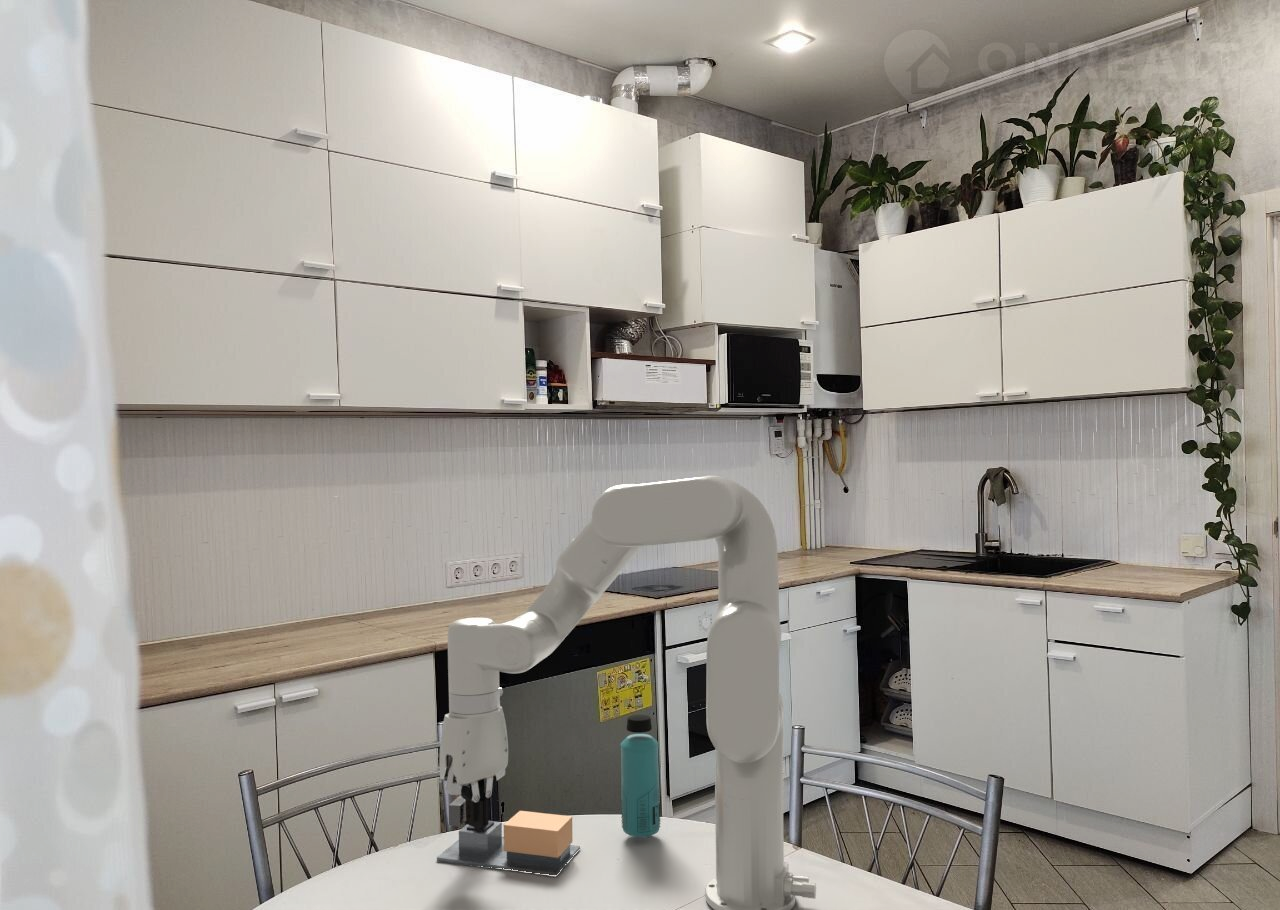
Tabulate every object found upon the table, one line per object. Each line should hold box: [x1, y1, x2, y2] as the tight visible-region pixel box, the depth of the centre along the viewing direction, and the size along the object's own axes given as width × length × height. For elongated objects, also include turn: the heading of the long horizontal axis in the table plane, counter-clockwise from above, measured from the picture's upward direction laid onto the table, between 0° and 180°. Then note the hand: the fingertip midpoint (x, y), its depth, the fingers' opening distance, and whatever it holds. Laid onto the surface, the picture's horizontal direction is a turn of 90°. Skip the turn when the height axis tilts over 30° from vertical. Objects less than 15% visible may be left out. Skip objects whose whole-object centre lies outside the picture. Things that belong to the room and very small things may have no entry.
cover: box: [503, 810, 573, 858], centre depth 142 cm, size 9×6×4 cm, turn 73°
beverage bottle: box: [620, 714, 662, 838], centre depth 149 cm, size 6×7×20 cm
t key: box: [448, 786, 470, 827], centre depth 140 cm, size 11×2×6 cm, turn 168°
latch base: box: [436, 820, 581, 875], centre depth 143 cm, size 20×10×4 cm, turn 73°
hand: (477, 824), depth 136 cm, fingers closed
